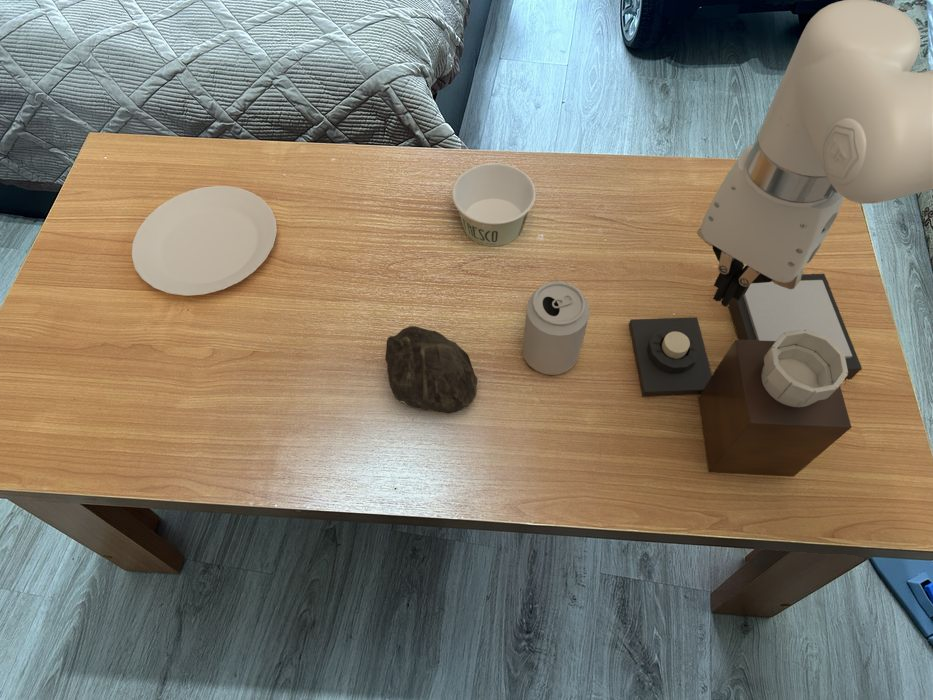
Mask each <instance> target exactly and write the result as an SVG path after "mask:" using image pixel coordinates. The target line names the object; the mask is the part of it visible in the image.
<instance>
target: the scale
mask: <svg viewBox="0 0 933 700" xmlns="http://www.w3.org/2000/svg"><path fill="white" fill-rule="evenodd" d="M727 306H728V308H729V312H730V316H731V319H732V322H733V325H734V329H735V333H736V336H737V340H760V341H777V339H778V338H779V337H780V336H781V335H782V333H784V332H790V331H795V330H801V329H804V330H805V329H806V330H809V331H812V332H815V333H818V334H821V335H824V336H826V338H829V339H830V340H831V341H832V342H833V343H834V344H835V345H836V346H837V347H838V348H839V349H840V350H841V351H842V352H843V354H844V355H845V359H846V364H847V369H848V373H847V374H848V375H847V376H846V378H845V379H844V380H850V379H851V380H852V379H853V378H855V376H856V375H857V374H858V373H859V372H860V371H861V370H862V369H863V367H862V364H861V362H860V359H859V357H858V355H857V352H856V349H855V347H854V344H853V342H852V340H851V337H850V335H849V332H848V329H847V327H846V324H845V322H844V320H843V317H842V314H841V312H840V309H839V307H838V305H837V302H836V299H835V297H834V294H833V292H832V289H831V287H830V284H829V282H828V279H827V277H826V274H825V273H802V277H801V280H800V282H799V283H798V284H797V285H796V287H795V288H794V289H787V288H785V287H782V286H779V285H777V284H774V282H772V281H771V282H766V283H751V284H750V286H749V288H748V290H747V291H746V293H745V294H744V296H743V297H742V298H741V299H740V300H739V301H738V300H736V299H735V298H733V300H732V301H731V302H730V303H729V304H728V305H727Z"/></svg>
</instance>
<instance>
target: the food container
mask: <svg viewBox="0 0 933 700" xmlns="http://www.w3.org/2000/svg"><path fill="white" fill-rule="evenodd" d="M451 190H452V191H451V197H452V198H451V199H452V201H453V204H454V206H455V208H456V209H457V210H458V214H459V217H460V220H461V224H462V227H463V230H464V232H465V235H466V236H467V237H468V238H469V239H471V240H472V241H473V242H475V243H477V244H478V245H481V246H487V247H499V246H504V245H508V244H510V243H511V242H514V241H515V240H516V239H518V237H519V236H520V235H521V233H523V228H524V227H525V223H526V221H527V218H528V215H529V213H530V211H531V209H532V207H533V206H534V204H535V201H536V199H537V198H536V197H537V190H536V186H535V184H534V181H533V180H532V178H531V177H530V176H529V175H528V174H527V173H526V172H525V171H523V170H522V169H520V168H518V167H516V166H514V165H512V164H507V163H502V162H485V163H481V164H477V165H473V166H471V167H470V168H468V169H466V170H465V171H463V172H462V173H460V175H458V176H457V178H456V179H455V182H454V183H453V186H452V189H451Z"/></svg>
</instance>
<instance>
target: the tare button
mask: <svg viewBox="0 0 933 700" xmlns="http://www.w3.org/2000/svg"><path fill="white" fill-rule="evenodd" d="M689 347H690V341H689V339H688V337H687V336H686V335H685V334H683V333H681V332H670V333H668V334H667V335H666V336H665V338H664V340H663V343H662V350H663V352H664V353H665V354H666V355H667V356H668V357H670V358H674V359H678V358H682V357H683V356H685V354H686V353H687V351H688V349H689Z"/></svg>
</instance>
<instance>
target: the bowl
mask: <svg viewBox="0 0 933 700" xmlns="http://www.w3.org/2000/svg"><path fill="white" fill-rule="evenodd" d="M794 344H797V345H794ZM789 345H791V346H789ZM798 345H800V346H798ZM783 346H786V347H783ZM801 346H803V347H801ZM778 347H780V348H779V349H778ZM804 347H806V348H804ZM807 348H809V349H807ZM810 349H811V350H810ZM813 350H814V351H816V352H817V353H818V354H819V355H820V356H821V357H822V358H823V359H824V360H825V361H826V362H827V363H828V364H829V365H830V367H829V366H828V364H827V363H826V362H825V361H824V360H823V359H822V358H821V357H820V356H819V355H818V354H817V353H816V352H815V353H814V351H813ZM764 357H765V358H764V364H765V365H764V366H763V369H762V375H761V377H762V383H763V385H764V387H765V389H766V391H767V392H768V393H769V394H770V395H771V396H772V397H773V398H774V399H775V400H777V401H778V402H780V403H782V404H785V405H787V406H791V407H805V406H808V405H811V404H813V403H815V402H816V401H818V400H824V399H827V398H828V397H829V396H830V395H831V394H832V393H833V392H834V391H835V390H836V389H837V388H838V387H839V386H840V387H841V385H842V383H843V381H844V380H846V379H845V378H846V376H847V375H848V374H847V373H848V369H847V364H846V359H845V355H844V354H843V352H842V351H841V350H840V349H839V348H838V347H837V346H836V345H835V344H834V343H833V342H832V341H831V340H830V339H829V338H826V336H824V335H821V334H818V333H815V332H812V331H809V330H806V329H805V330H804V329H801V330H795V331H790V332H784V333H782V335H781V336H780V337H779V338H778V339H777V341H776V342H775V343H774V344H773V346H772V347H771V348H770V350H769V351H768V352H767V354H766V355H765V356H764ZM830 370H831V373H830ZM831 375H832V378H831ZM832 381H833V382H832ZM831 382H832V384H831Z"/></svg>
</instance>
